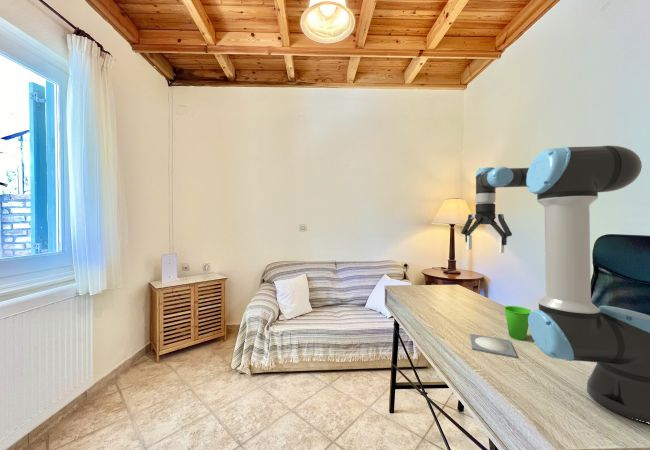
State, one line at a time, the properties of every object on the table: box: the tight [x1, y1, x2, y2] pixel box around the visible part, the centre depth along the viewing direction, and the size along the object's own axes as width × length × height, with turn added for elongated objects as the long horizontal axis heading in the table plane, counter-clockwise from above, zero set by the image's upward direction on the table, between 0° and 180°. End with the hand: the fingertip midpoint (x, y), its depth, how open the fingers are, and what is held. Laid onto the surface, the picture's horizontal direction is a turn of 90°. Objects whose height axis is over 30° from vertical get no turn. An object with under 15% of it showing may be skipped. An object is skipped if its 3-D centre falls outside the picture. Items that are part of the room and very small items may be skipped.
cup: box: [503, 305, 532, 341], centre depth 103 cm, size 9×9×11 cm
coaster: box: [469, 333, 518, 359], centre depth 97 cm, size 13×13×1 cm
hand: (484, 251), depth 118 cm, fingers open, 13 cm apart
